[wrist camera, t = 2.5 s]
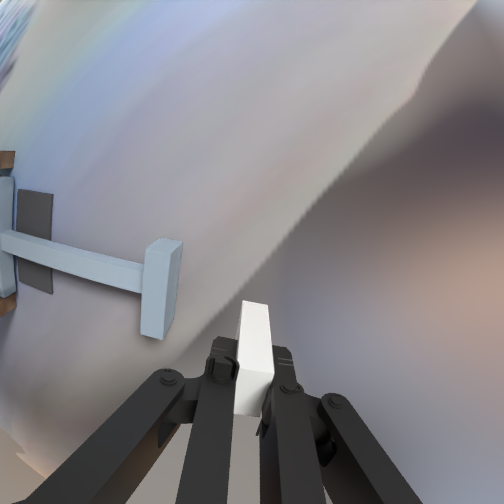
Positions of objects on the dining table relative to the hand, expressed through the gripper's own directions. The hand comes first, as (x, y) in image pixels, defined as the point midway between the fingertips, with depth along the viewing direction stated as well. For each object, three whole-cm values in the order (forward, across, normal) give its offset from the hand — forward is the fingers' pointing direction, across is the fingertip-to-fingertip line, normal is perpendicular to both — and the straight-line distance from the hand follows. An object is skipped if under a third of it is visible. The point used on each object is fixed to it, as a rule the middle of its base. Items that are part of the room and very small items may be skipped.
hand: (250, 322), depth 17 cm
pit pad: (+4, -20, 0) cm, 20 cm away
